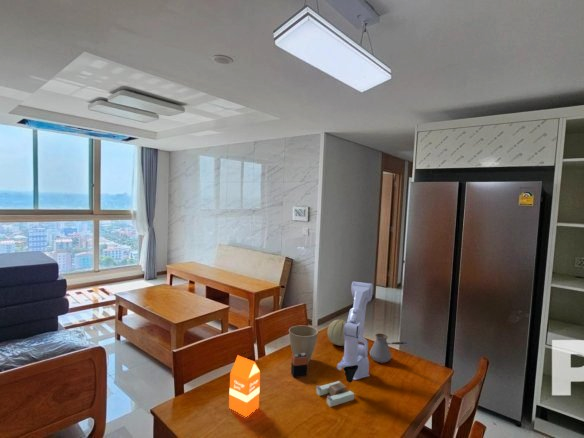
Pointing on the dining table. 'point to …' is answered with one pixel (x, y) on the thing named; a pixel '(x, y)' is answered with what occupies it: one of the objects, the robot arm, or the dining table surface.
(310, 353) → the plant pot
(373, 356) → the coffee pot
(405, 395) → the dining table surface
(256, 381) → the orange juice
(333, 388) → the block
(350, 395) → the rails
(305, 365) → the battery
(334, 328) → the cantaloupe
